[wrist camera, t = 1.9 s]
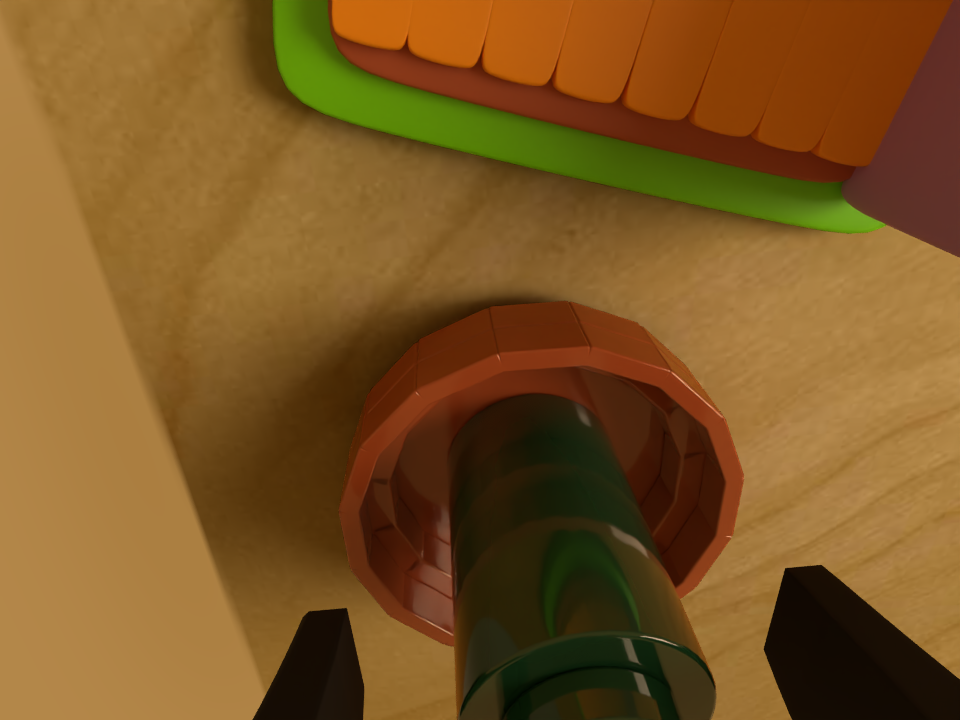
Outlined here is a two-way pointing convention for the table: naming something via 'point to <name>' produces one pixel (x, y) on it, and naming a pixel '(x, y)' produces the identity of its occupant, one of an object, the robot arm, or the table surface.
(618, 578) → the bottle
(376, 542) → the dish
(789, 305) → the table surface
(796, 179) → the miniature room corner
